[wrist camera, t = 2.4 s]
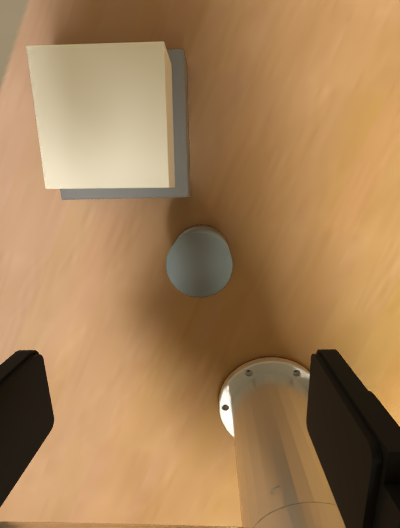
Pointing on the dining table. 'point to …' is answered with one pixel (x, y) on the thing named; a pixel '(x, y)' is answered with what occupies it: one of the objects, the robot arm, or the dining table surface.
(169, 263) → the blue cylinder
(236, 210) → the dining table surface
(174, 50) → the tower bottom
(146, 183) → the tower top
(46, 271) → the dining table surface
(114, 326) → the dining table surface
